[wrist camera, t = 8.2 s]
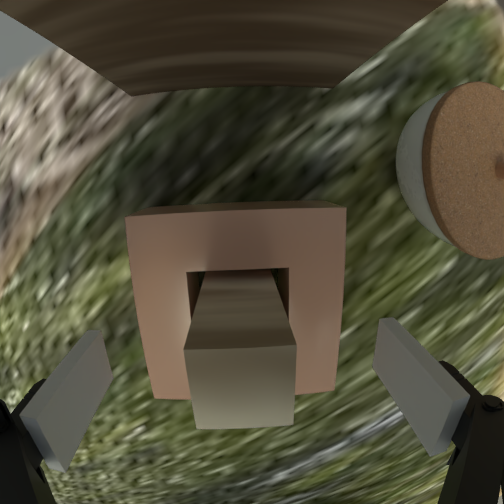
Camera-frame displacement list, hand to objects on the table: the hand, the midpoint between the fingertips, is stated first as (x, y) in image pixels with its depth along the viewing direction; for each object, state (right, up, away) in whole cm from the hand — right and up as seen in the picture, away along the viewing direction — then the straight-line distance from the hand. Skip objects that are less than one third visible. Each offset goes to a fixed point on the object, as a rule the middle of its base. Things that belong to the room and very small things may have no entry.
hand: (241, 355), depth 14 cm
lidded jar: (+14, +11, +8) cm, 20 cm away
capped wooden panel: (-1, +14, +6) cm, 15 cm away
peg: (0, +2, +9) cm, 9 cm away
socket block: (0, +2, +9) cm, 9 cm away
